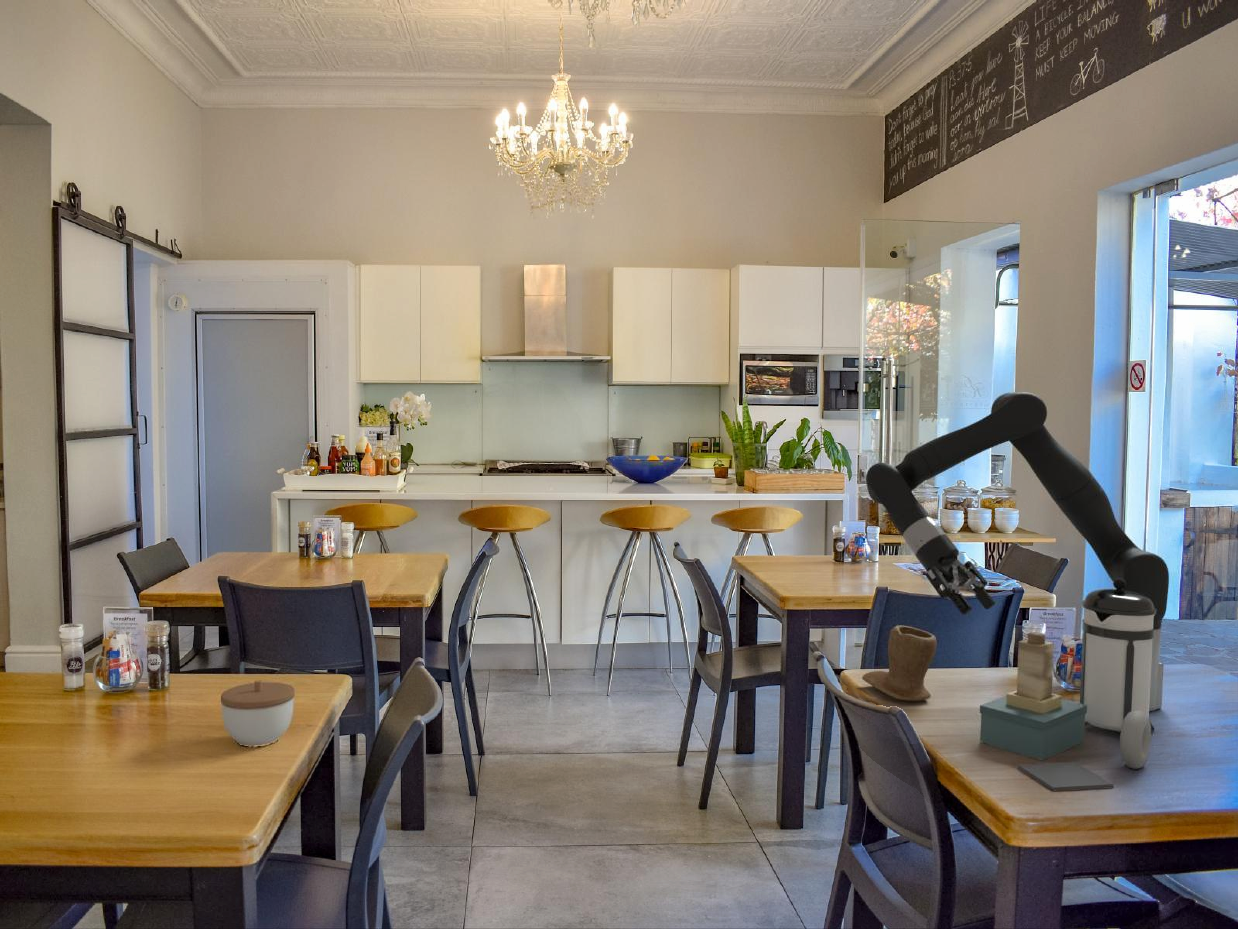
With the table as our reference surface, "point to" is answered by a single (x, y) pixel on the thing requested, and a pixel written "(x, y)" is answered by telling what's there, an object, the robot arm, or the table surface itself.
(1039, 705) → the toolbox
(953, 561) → the robot arm
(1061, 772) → the rubber mat
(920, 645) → the brown top hat
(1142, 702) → the coffee press
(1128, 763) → the donut
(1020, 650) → the wooden block
